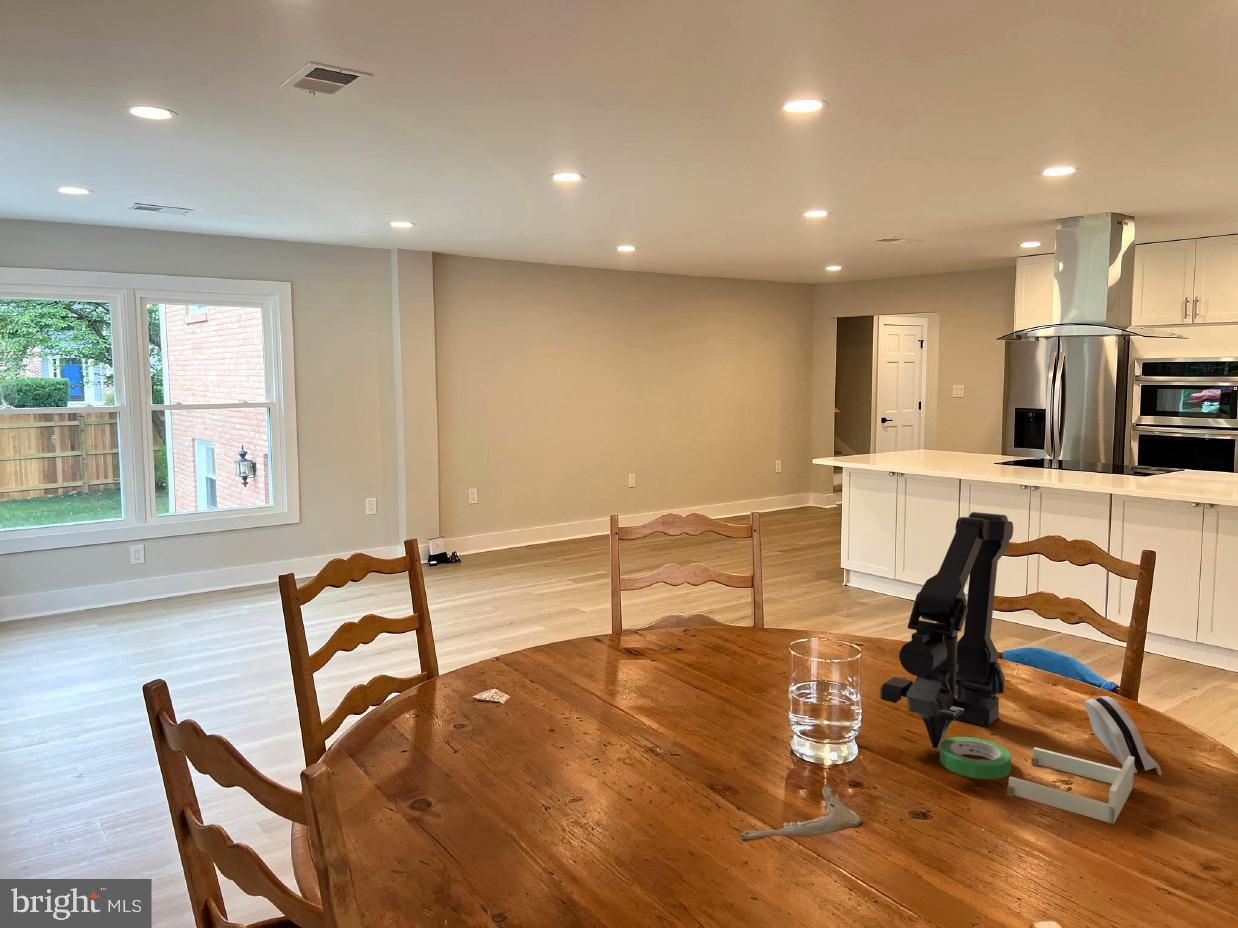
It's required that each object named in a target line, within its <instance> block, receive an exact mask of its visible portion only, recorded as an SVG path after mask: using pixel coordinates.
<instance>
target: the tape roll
mask: <svg viewBox="0 0 1238 928" xmlns="http://www.w3.org/2000/svg"><path fill="white" fill-rule="evenodd" d="M963 755H970V756H971V755H973V756H978V757H983V758H985V759H987V760H984V759H983V760H982V759H981V760H980V759H973V758H969V757H965V756H963ZM939 763H940V764H941V765H942V766H943V768H946V769H947V770H949V771H951V772H952V773H955V774H957V775H960V776H963V777H967V778H972V779H978V780H997V779H1002V778H1005V777H1007V776H1008V775H1010V773H1011V767H1012V755H1011V752H1009V750H1008V749H1007V748H1005V747H1004V746H1001V745H1000V744H998V743H996V742H993V741H991V740H990V741H989V740H987V739H984V738H983V739H982V738H978V737H977V738H976V737H971V736H955V737H953V736H952V737H949V738H946V739H943V740H942V742H941V744H940V746H939Z"/></svg>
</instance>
